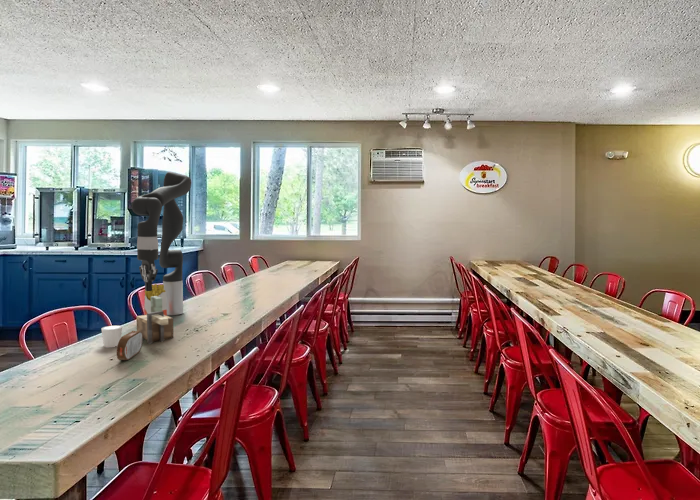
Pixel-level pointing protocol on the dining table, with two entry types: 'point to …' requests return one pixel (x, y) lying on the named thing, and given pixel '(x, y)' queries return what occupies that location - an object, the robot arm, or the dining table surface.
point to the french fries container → (157, 292)
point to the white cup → (111, 335)
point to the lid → (153, 308)
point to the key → (160, 319)
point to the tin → (129, 345)
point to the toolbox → (155, 328)
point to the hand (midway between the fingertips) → (148, 290)
